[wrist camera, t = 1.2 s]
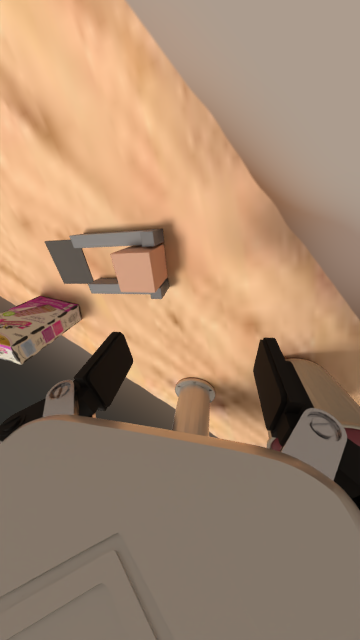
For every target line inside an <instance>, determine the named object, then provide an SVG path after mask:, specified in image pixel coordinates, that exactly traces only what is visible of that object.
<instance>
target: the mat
mask: <svg viewBox="0 0 360 640" xmlns="http://www.w3.org/2000/svg"><path fill="white" fill-rule="evenodd" d="M45 244H46V246H47V248H48V250H49V252H50V254H51V256H52V258H53V261H54V263H55V265H56V267H57V269H58V271H59V273H60V276H61V278H62V280H63V282H64V284H90V283H91V282H93V279H92V276H91V273H90V270H89V268H88V265H87V262H86V259H85V257H84V254H83V251H82V248H74V246H73V244H72V241H71V240H62V241H45Z"/></svg>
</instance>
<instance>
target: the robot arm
mask: <svg viewBox="0 0 360 640" xmlns="http://www.w3.org/2000/svg"><path fill="white" fill-rule="evenodd" d="M132 364H133V358H132V355H131V353H130V350H129V347H128V345H127V342H126V339H125V337H124V335H123V334H122V333H121V332H112V333H111V334H110V335H109V336H108V338H107V339H106V340H105V341H104V342H103V344H102V345H101V346H100V347H99V348H98V349H97V351H96V352H95V353H94V354H93V355H92V357H91V358H90V359H89V360H88V362H86V364H85V365H84V366H83V367H82V369H81V370H80V371H79V372H78V373H77V374H76V375H75V377H74V379H75V380H74V381H72V380H65V381H61V382H59V383H58V384H56V385H55V386H54V387H52V388H51V389H50V390H49V392H48V393H47V396H46V399H43V400H41V401H39V402H37V403H35V404H33V405H31V406H29V407H27V408H25V409H24V410H22V411H19V412H18V413H15V414H14V415H12V416H11V417H9V418H8V419H7V420H5V421H4V422H3V424H1V426H0V640H360V447H359V446H358V445H357V444H355V443H354V442H352V441H351V440H350V439H348V438H347V434H346V431H345V429H344V427H343V426H342V424H341V423H340V422H339V421H338V420H337V419H336V418H335V417H333V416H332V415H331V414H329V413H327V412H325V411H323V410H320V409H317V408H314V406H313V404H312V402H311V400H310V398H309V396H308V394H307V392H306V390H305V388H304V386H303V384H302V382H301V380H300V378H299V376H298V374H297V372H296V370H295V368H294V366H293V364H292V362H291V361H286V360H285V359H284V356H283V354H282V352H281V350H280V348H279V346H278V343H277V341H276V339H275V338H264V339H263V340H260V343H259V347H258V351H257V356H256V360H255V364H254V370H253V372H254V377H255V381H256V386H257V390H258V394H259V399H260V403H261V407H262V412H263V416H264V420H265V425H266V428H267V430H269V431H270V432H271V436H272V437H274V438H278V441H279V444H280V445H281V446H282V447H281V449H280V451H276V450H273V449H269V448H264V447H260V446H256V445H251V444H246V443H240V442H235V441H230V440H225V439H219V438H213V437H209V413H210V402H212V401H213V400H214V398H215V390H214V388H213V387H212V386H211V385H210V384H209V383H207V382H206V381H203V380H200V379H196V378H186V379H183V380H181V381H179V382H178V383H177V384H176V388H175V392H176V394H177V396H178V402H177V407H176V413H175V417H174V422H173V427H172V430H166V429H160V428H154V427H148V426H142V425H136V424H130V423H124V422H118V421H111V420H105V419H99V418H96V416H95V412H96V410H100V411H106V409H107V407H108V406H110V405H111V403H112V401H113V399H114V397H115V395H116V393H117V392H118V390H119V388H120V386H121V384H122V382H123V381H124V379H125V377H126V375H127V373H128V371H129V369H130V368H131V366H132Z"/></svg>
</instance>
